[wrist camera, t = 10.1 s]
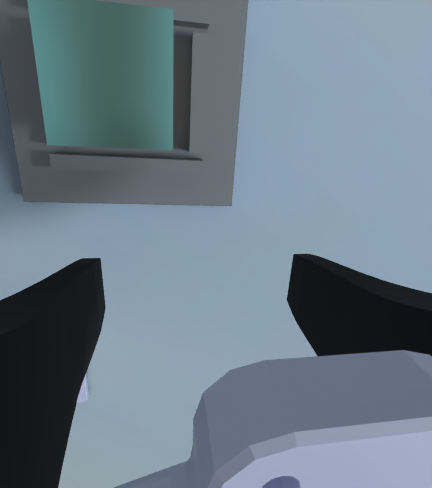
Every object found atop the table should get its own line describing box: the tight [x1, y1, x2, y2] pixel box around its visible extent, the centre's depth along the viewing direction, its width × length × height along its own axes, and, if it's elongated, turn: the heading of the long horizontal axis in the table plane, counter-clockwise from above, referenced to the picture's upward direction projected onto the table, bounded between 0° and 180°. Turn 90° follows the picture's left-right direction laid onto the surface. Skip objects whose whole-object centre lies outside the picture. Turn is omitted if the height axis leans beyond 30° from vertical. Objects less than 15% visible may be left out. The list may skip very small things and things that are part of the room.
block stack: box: [27, 0, 173, 150], centre depth 13 cm, size 4×4×6 cm
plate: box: [0, 0, 248, 206], centre depth 16 cm, size 12×12×2 cm
